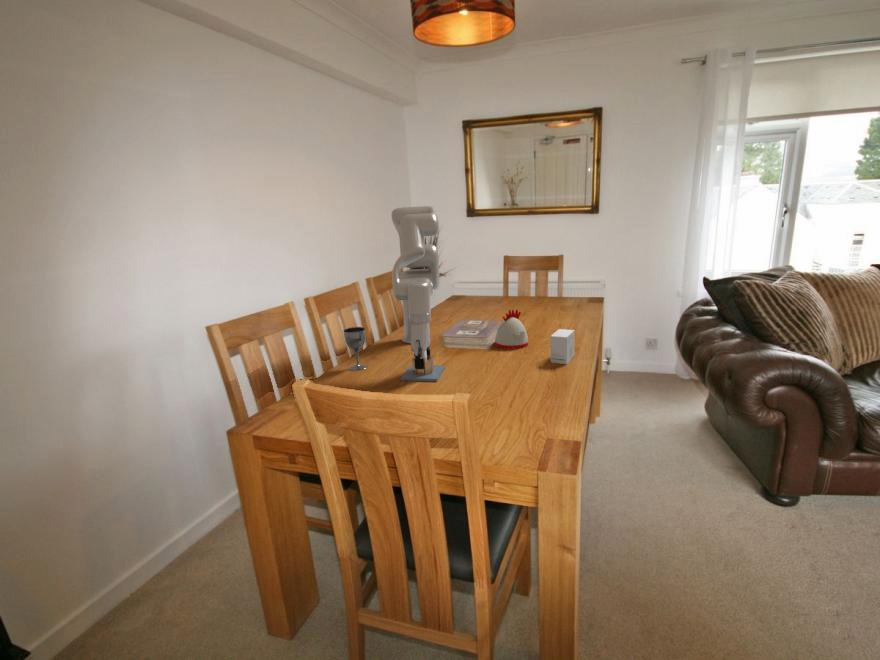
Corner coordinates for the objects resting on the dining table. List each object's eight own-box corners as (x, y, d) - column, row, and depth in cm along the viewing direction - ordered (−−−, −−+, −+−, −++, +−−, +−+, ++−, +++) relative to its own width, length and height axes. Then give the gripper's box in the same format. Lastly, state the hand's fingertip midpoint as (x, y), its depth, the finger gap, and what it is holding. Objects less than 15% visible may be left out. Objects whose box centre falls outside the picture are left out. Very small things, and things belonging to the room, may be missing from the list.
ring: (416, 367, 170) (415, 355, 169) (435, 368, 168) (434, 355, 167) (411, 374, 163) (410, 361, 162) (430, 375, 162) (429, 361, 161)
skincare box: (558, 354, 181) (558, 328, 178) (574, 356, 177) (575, 329, 174) (549, 362, 172) (550, 335, 169) (566, 364, 169) (567, 337, 166)
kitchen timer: (534, 346, 192) (534, 310, 188) (505, 351, 187) (505, 315, 183) (517, 337, 204) (517, 304, 200) (489, 342, 200) (488, 308, 196)
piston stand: (410, 367, 174) (409, 342, 171) (444, 368, 171) (443, 342, 168) (401, 380, 161) (399, 353, 159) (437, 381, 159) (436, 353, 156)
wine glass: (348, 372, 172) (344, 333, 168) (346, 365, 179) (342, 328, 175) (369, 369, 174) (366, 330, 170) (367, 362, 181) (363, 325, 177)
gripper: (416, 311, 170) (418, 356, 174) (402, 324, 153) (406, 372, 158) (436, 311, 168) (438, 356, 172) (424, 324, 152) (427, 373, 156)
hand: (423, 364), depth 165 cm, fingers open, 9 cm apart
